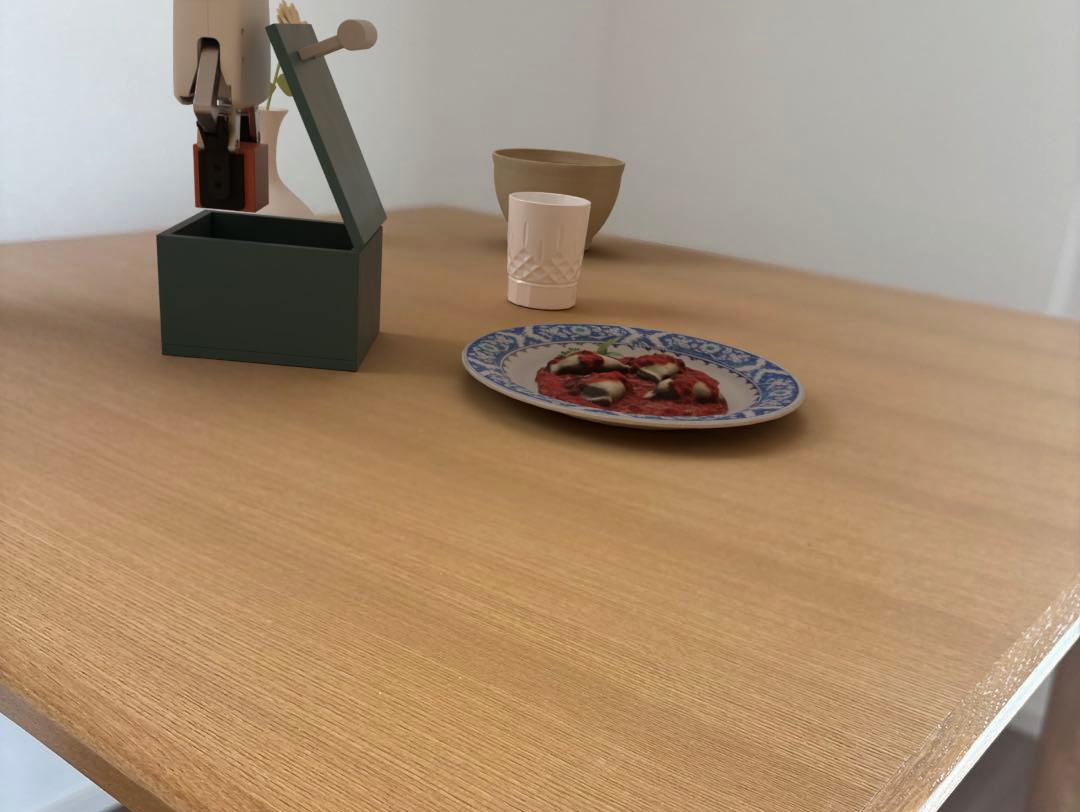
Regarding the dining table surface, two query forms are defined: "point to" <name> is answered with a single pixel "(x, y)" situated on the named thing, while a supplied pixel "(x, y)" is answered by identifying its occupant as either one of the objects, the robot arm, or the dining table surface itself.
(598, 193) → the planter bowl
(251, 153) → the block
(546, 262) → the white cup
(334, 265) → the chest
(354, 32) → the lid
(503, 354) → the ceramic plate
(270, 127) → the flower in vase
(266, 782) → the dining table surface
